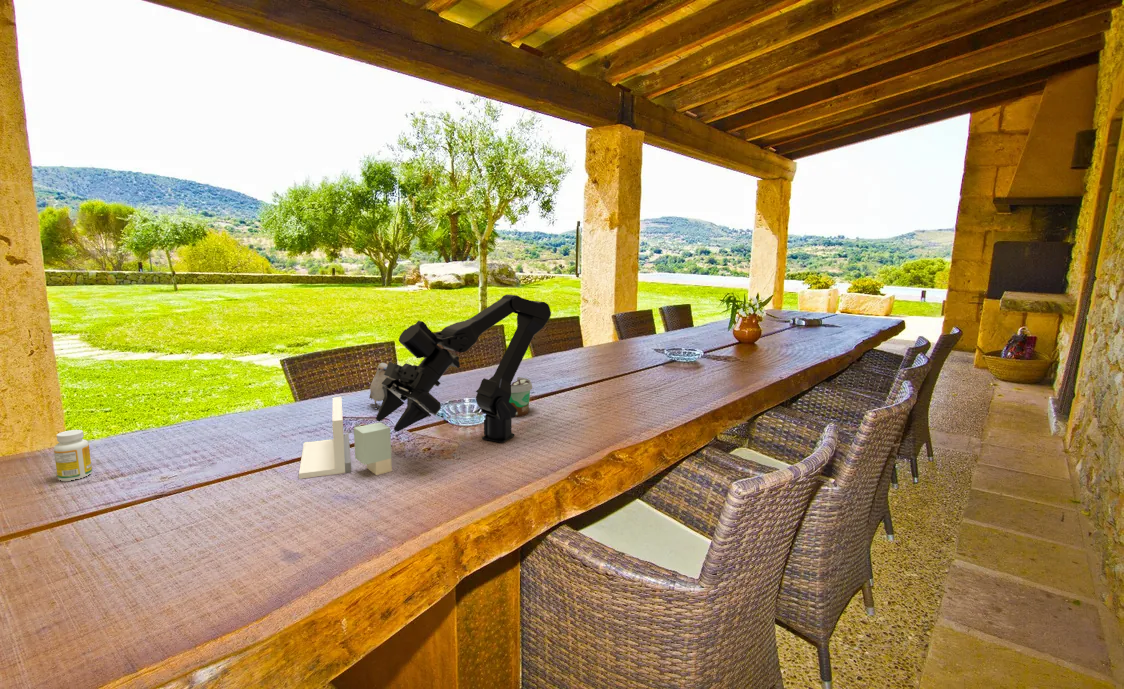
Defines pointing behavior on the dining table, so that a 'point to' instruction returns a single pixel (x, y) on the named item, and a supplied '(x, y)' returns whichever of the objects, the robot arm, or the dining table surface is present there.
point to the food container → (521, 396)
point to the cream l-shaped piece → (327, 450)
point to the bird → (378, 383)
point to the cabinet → (373, 447)
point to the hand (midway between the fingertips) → (385, 425)
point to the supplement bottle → (72, 456)
